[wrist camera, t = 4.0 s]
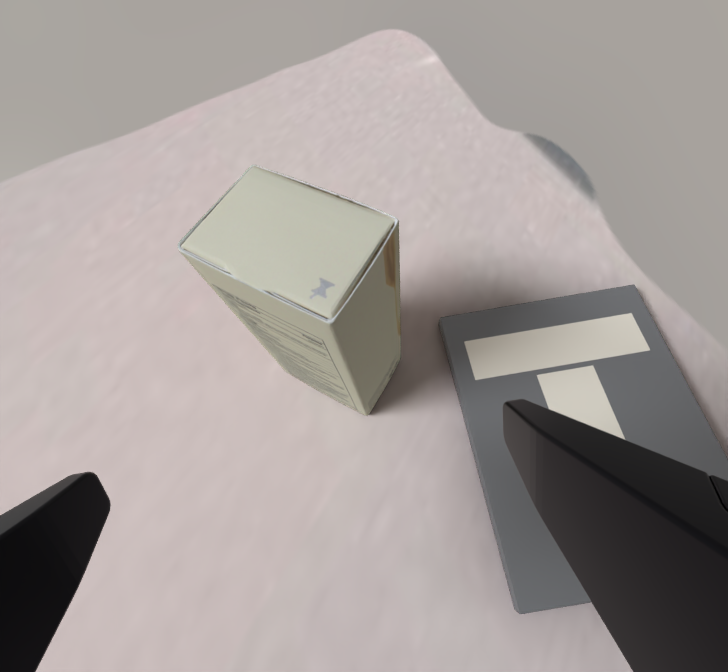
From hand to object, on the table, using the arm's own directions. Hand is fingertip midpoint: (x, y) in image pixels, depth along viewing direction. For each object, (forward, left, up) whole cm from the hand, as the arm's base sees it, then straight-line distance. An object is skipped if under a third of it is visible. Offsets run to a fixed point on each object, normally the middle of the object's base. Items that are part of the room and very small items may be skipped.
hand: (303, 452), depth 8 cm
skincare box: (+7, 0, -13) cm, 15 cm away
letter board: (+1, -12, -13) cm, 18 cm away
